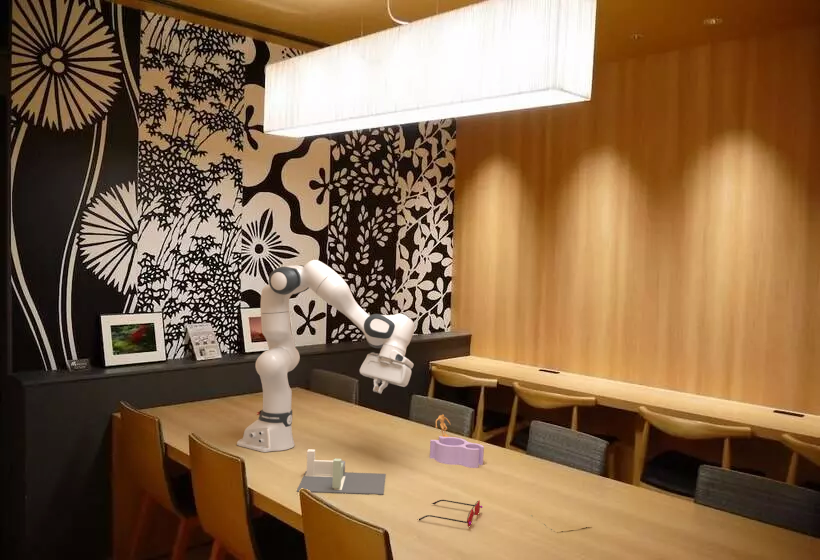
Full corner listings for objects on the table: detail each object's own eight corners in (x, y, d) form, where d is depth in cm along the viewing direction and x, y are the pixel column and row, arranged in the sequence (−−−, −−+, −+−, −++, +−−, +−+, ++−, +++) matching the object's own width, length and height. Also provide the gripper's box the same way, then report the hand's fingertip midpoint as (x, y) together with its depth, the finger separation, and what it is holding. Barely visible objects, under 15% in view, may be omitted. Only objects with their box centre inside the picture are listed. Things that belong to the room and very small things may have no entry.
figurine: (441, 447, 270) (442, 417, 270) (430, 443, 275) (431, 414, 274) (455, 443, 276) (456, 415, 275) (445, 440, 280) (446, 411, 280)
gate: (338, 473, 233) (339, 447, 232) (345, 473, 233) (346, 448, 232) (332, 488, 218) (333, 460, 218) (339, 488, 218) (340, 461, 218)
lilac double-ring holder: (488, 462, 254) (488, 444, 254) (472, 470, 244) (473, 452, 243) (442, 451, 265) (442, 434, 265) (425, 459, 255) (426, 441, 254)
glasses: (470, 532, 192) (471, 515, 192) (416, 522, 198) (416, 505, 197) (482, 514, 205) (483, 498, 205) (431, 505, 211) (431, 489, 210)
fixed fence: (338, 475, 233) (338, 450, 232) (337, 478, 230) (338, 452, 230) (307, 474, 233) (308, 449, 232) (306, 477, 230) (307, 451, 230)
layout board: (296, 491, 217) (296, 490, 217) (305, 471, 236) (305, 470, 236) (383, 495, 217) (383, 493, 217) (385, 474, 236) (385, 473, 236)
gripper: (364, 348, 248) (350, 382, 244) (409, 359, 237) (394, 395, 232) (373, 354, 253) (359, 388, 249) (417, 365, 241) (403, 401, 237)
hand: (376, 392), depth 241 cm, fingers closed
